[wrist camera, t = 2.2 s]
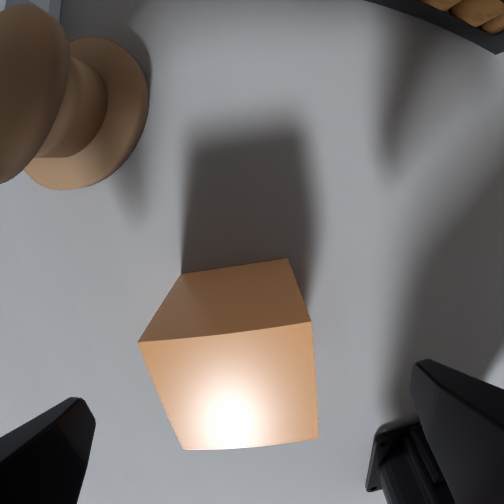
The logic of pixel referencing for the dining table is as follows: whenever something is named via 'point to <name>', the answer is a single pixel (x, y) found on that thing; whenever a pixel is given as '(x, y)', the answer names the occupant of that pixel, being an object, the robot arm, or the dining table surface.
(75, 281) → the dining table surface
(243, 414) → the block
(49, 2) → the notched board
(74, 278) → the dining table surface
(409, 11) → the ammunition clip
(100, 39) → the wooden knob
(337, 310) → the dining table surface
